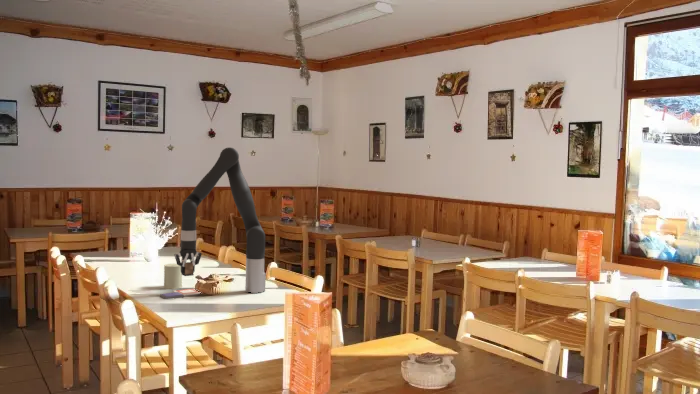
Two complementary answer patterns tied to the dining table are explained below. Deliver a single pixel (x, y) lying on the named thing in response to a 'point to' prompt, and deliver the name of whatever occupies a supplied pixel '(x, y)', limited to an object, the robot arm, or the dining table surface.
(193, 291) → the print board
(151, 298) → the dining table surface
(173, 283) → the can
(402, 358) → the dining table surface
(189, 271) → the stamp
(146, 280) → the dining table surface
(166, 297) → the ink pad
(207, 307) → the dining table surface
